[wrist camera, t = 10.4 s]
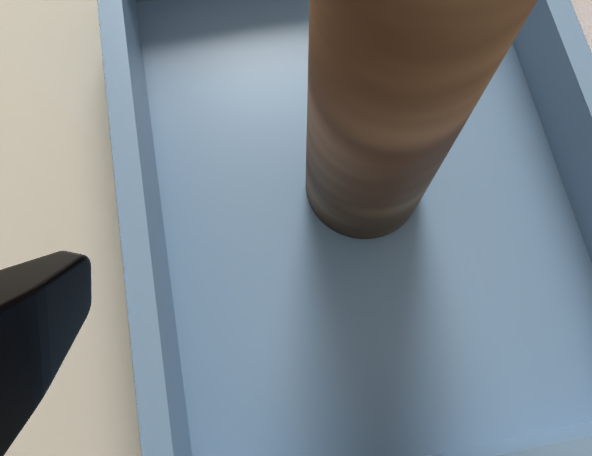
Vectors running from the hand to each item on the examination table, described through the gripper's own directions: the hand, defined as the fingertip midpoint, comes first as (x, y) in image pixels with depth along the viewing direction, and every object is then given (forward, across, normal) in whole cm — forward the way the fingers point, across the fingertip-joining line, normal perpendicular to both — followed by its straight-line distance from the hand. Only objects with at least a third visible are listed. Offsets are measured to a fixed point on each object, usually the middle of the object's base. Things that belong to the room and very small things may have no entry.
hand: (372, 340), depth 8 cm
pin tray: (+12, 0, +3) cm, 12 cm away
